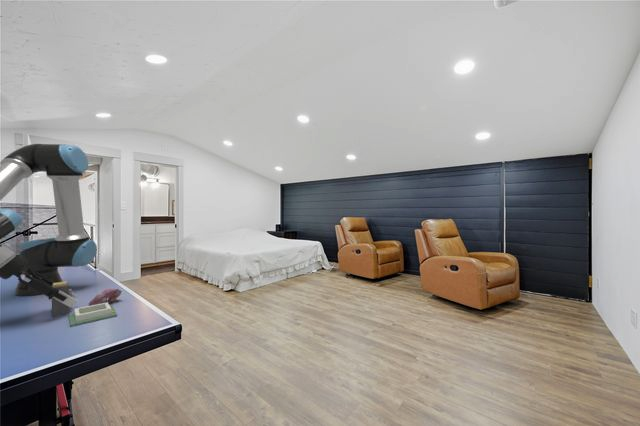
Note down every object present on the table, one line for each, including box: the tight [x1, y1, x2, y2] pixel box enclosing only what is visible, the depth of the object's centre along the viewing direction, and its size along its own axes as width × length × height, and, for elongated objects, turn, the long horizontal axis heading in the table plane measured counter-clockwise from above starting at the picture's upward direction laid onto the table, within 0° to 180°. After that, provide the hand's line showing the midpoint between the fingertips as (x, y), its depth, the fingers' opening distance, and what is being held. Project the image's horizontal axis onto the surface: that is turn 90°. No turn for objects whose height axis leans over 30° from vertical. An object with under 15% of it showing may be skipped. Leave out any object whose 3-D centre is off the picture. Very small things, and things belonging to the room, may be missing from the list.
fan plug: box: [50, 280, 73, 318], centre depth 98 cm, size 4×5×11 cm
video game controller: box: [88, 287, 122, 306], centre depth 108 cm, size 10×5×7 cm, turn 169°
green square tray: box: [68, 301, 118, 328], centre depth 96 cm, size 12×12×3 cm
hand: (73, 301), depth 100 cm, fingers open, 7 cm apart
